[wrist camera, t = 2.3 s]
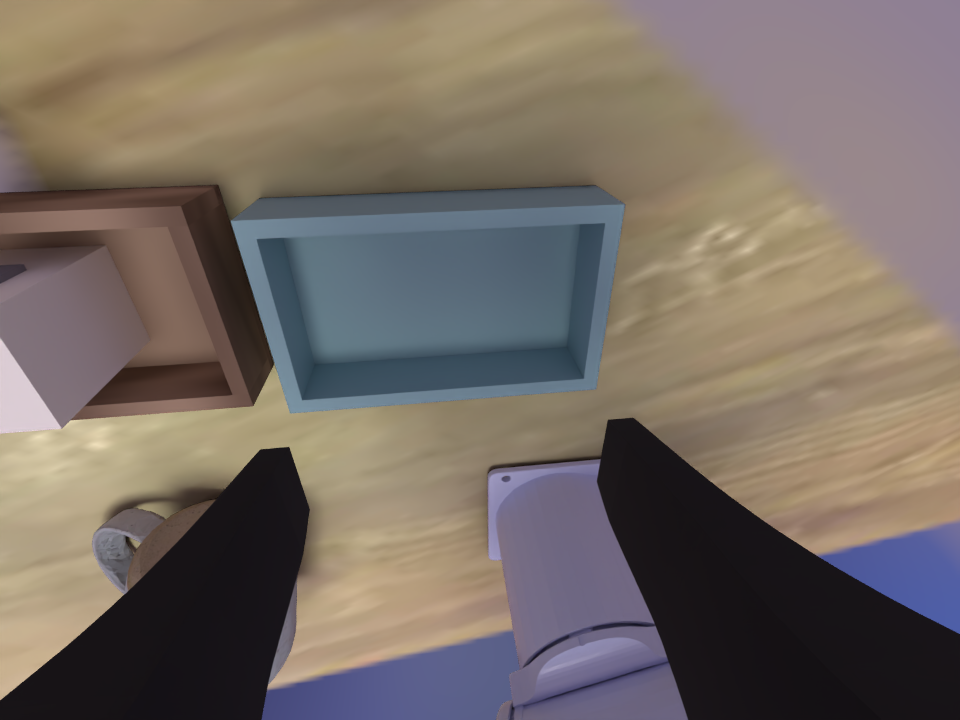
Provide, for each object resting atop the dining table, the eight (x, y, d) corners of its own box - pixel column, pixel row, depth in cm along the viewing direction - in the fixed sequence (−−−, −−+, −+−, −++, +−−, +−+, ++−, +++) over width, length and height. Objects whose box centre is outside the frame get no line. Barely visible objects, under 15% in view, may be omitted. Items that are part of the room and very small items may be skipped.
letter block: (103, 239, 16) (-21, 306, 12) (150, 340, 19) (62, 428, 14) (-18, 245, 16) (-195, 315, 11) (45, 346, 18) (-81, 440, 14)
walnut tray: (218, 185, 16) (180, 205, 14) (273, 364, 20) (253, 406, 18) (-181, 199, 15) (-301, 224, 13) (-35, 386, 19) (-103, 433, 17)
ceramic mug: (312, 491, 25) (271, 638, 18) (309, 578, 29) (274, 723, 23) (94, 474, 23) (-39, 633, 16) (124, 571, 27) (27, 728, 20)
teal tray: (596, 185, 18) (625, 204, 15) (575, 352, 22) (596, 389, 19) (259, 198, 17) (230, 220, 14) (305, 371, 21) (290, 413, 18)
